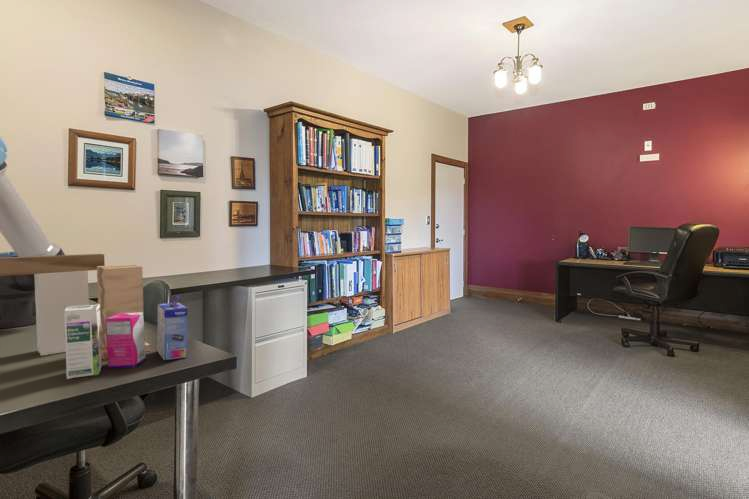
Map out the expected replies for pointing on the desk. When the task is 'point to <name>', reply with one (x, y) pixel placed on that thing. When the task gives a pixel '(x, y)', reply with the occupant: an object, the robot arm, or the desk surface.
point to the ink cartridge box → (172, 330)
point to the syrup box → (82, 341)
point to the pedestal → (57, 306)
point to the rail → (50, 264)
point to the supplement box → (125, 340)
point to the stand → (119, 295)
